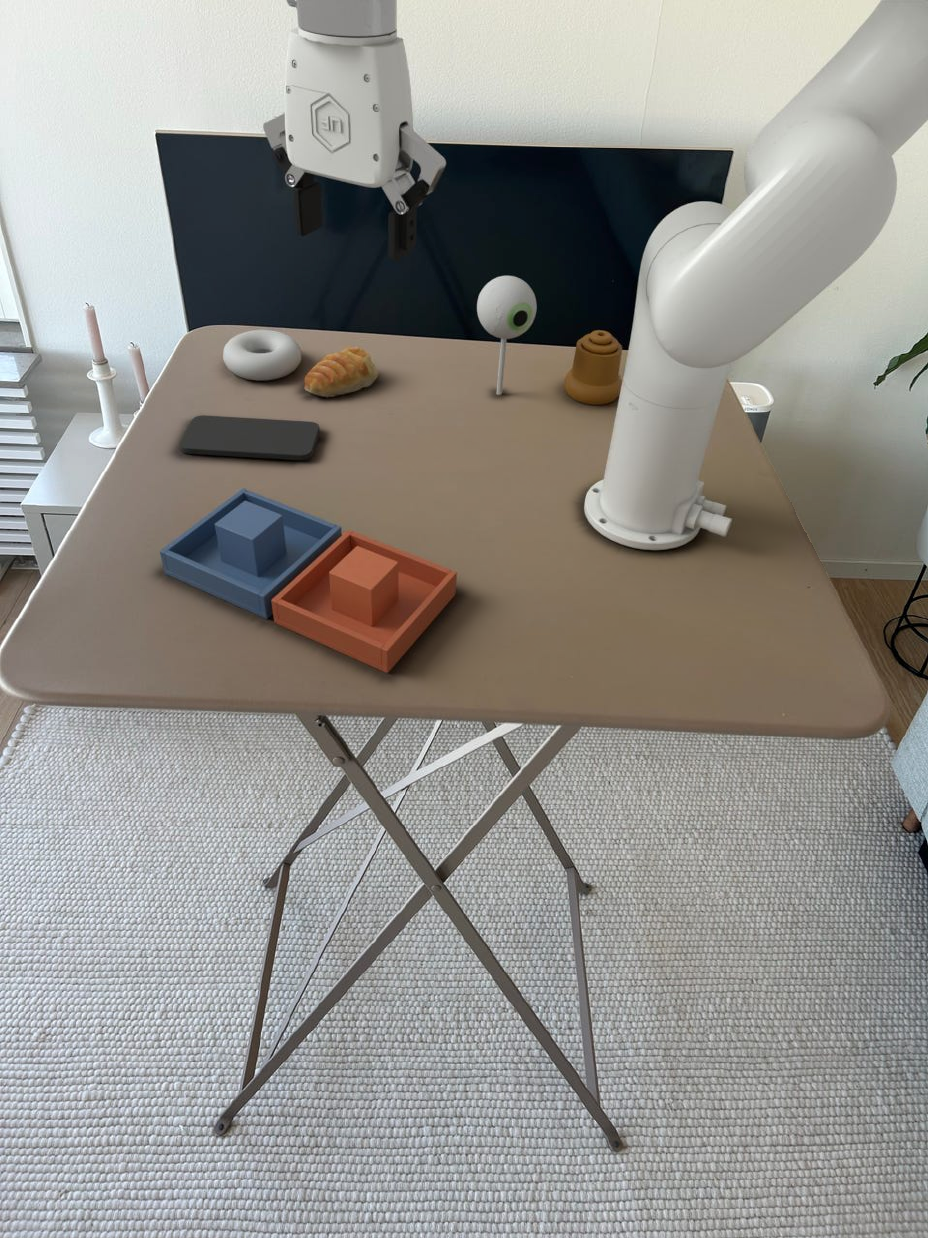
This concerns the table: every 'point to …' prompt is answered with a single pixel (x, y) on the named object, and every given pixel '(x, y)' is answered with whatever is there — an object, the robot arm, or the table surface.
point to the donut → (262, 355)
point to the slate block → (251, 538)
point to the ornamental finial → (595, 369)
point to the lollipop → (506, 312)
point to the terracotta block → (364, 585)
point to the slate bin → (203, 569)
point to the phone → (250, 437)
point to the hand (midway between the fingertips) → (354, 243)
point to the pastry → (341, 373)
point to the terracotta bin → (377, 646)
